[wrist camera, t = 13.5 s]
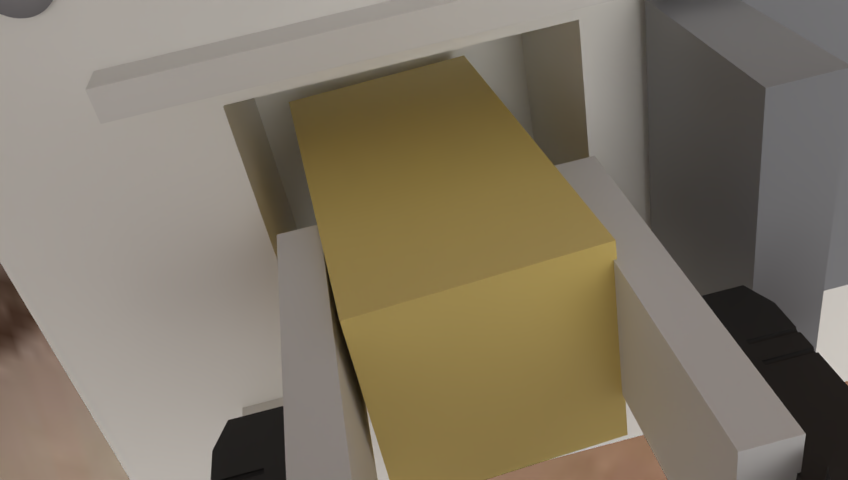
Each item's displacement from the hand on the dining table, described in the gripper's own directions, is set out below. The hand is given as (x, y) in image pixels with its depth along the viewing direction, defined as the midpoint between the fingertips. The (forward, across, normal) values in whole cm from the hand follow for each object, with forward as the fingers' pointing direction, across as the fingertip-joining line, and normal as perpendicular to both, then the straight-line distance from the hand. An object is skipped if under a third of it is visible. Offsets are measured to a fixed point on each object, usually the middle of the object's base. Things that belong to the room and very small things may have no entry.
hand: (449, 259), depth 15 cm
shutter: (+1, +8, 0) cm, 8 cm away
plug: (+5, 0, 0) cm, 5 cm away
